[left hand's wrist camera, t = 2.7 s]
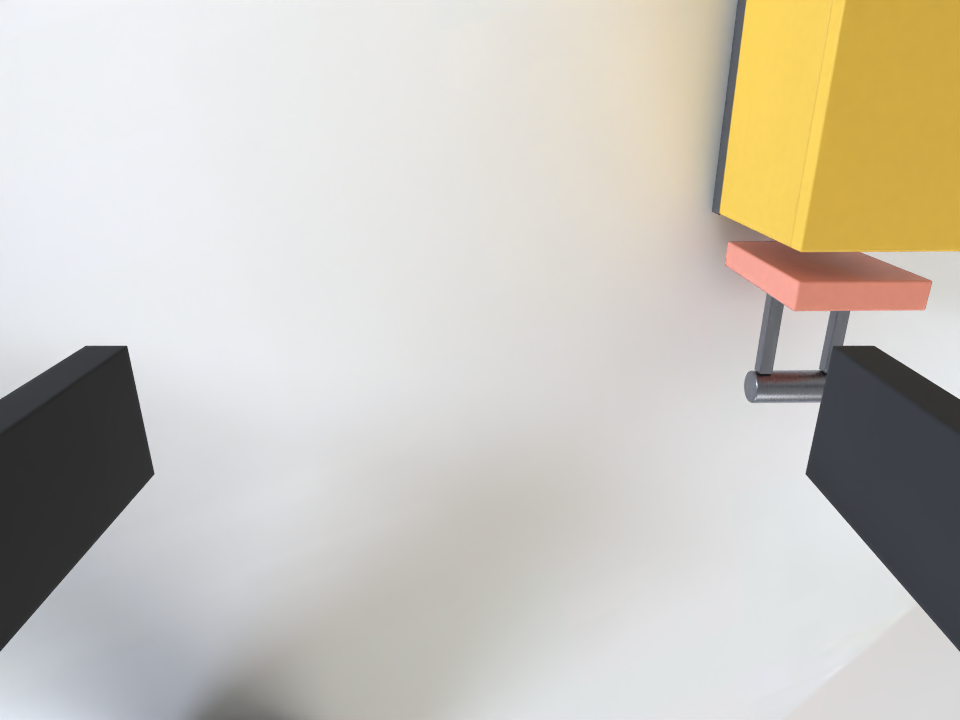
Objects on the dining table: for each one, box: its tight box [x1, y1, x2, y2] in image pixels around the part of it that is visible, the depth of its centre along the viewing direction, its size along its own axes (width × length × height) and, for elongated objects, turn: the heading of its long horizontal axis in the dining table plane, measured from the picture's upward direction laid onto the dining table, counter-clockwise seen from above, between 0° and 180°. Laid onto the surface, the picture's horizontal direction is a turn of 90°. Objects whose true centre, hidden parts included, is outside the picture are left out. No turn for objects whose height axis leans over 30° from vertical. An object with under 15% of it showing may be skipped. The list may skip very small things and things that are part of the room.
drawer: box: [725, 241, 932, 403], centre depth 26 cm, size 26×5×8 cm, turn 0°
